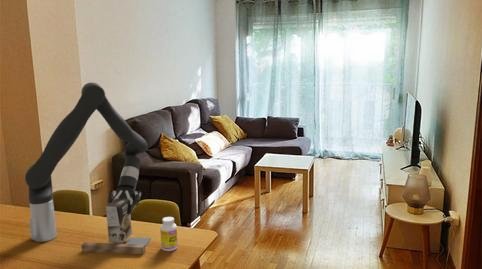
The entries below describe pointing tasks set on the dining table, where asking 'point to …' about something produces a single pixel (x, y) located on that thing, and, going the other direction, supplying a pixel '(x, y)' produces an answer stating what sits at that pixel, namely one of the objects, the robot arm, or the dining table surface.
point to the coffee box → (118, 220)
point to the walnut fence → (113, 248)
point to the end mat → (138, 241)
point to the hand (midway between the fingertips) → (120, 213)
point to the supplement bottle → (168, 234)
